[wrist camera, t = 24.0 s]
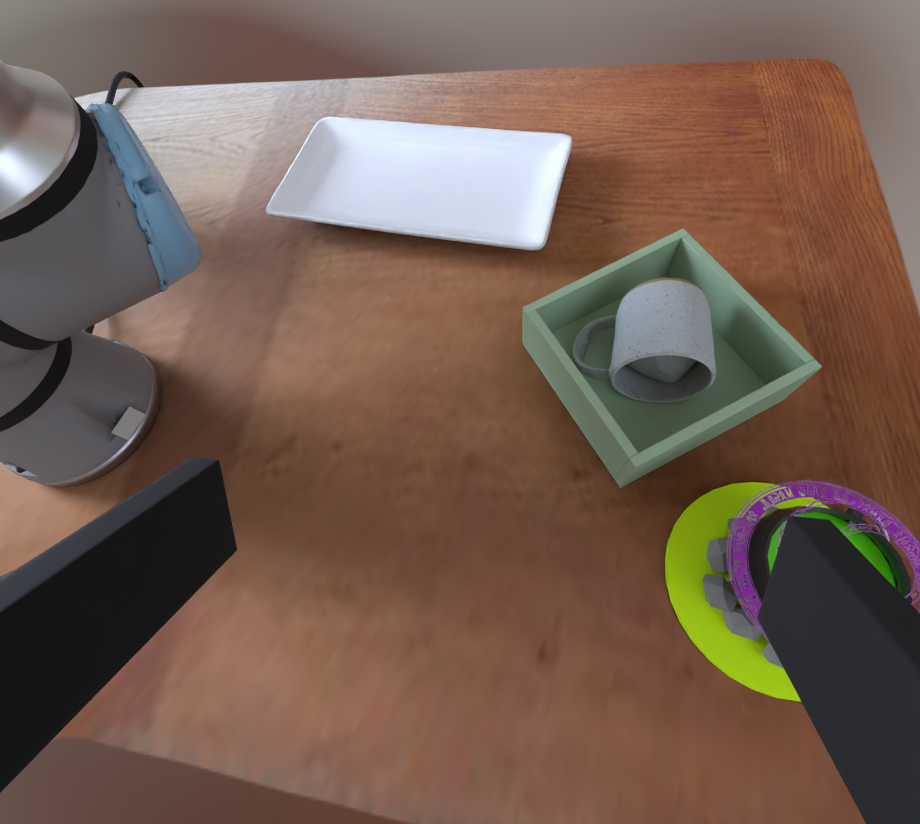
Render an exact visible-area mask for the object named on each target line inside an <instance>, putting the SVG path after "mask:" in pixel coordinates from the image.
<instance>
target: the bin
mask: <svg viewBox="0 0 920 824" xmlns="http://www.w3.org/2000/svg"><path fill="white" fill-rule="evenodd" d="M657 278H680V279H684V280H687V281H690V282H692V283H694V284H696V285H697V286H698V287H700V288H701V289H702V291H703V292H704V294H705V295H706V298H707V301H708V303H709V307H710V312H711V325H712V334H713V344H714V356H715V365H716V378H715V380H714V382H713V384H712V385H711V386H710V387H709V388H708V389H707V390H706V391H704V392H703V393H701V394H699V395H697V396H695V397H693V398H690V399H687V400H683V401H677V402H671V403H652V402H644V401H639V400H635V399H631V398H628V397H626V396H624V395H622V394H620V393H619V392H618V391H616V390H615V389H614V388H613V386H612V385H611V382H610V380H600V379H594V378H591V377H588V376H586V375H585V374H584V373H582V372H581V371H580V370H579V368H578V366H577V365H576V363H575V361H574V360H573V356H572V349H573V344H574V341H575V339H576V337H577V335H578V333H579V332H580V331H581V330H582V329H583V328H584V327H585V326H586V325H587V324H588V323H590V322H592V321H594V320H596V319H598V318H601V317H605V316H610V315H617V312H618V309H619V306H620V303H621V301H622V299H623V298H624V296H625V295H626V294H627V293H628V292H629V291H630V290H631V289H633V288H634V287H636V286H637V285H639V284H641V283H643V282H646V281H649V280H652V279H657ZM614 337H615V327H614V328H609V329H604V330H603V331H600V332H598V333H596V334H594V335H593V336H592V337H590V338H589V339H588V344H587V346H586V348H585V351H584V356H583V361H582V362H583V363H585V364H586V365H587V366H590V367H594V368H600V369H608V368H610V366H611V360H612V350H613V344H614ZM523 345H524V347H525V348H526V350H527V351H528V353H529V354H530V356H531V357H532V359H533V360H534V361H535V363H536V364H537V366H538V367H539V369H540V370H541V372H542V373H543V375H544V376H545V378H546V379H547V381H548V382H549V384H550V385H551V387H552V388H553V390H554V391H555V393H556V394H557V395H558V397H559V398H560V400H561V401H562V403H563V404H564V406H565V407H566V409H567V410H568V412H569V413H570V415H571V416H572V418H573V419H574V421H575V422H576V424H577V425H578V427H579V428H580V430H581V431H582V432H583V434H584V435H585V437H586V438H587V440H588V441H589V443H590V444H591V446H592V447H593V449H594V450H595V452H596V453H597V455H598V456H599V458H600V459H601V461H602V462H603V464H604V465H605V466H606V468H607V469H608V471H609V472H610V474H611V475H612V477H613V478H614V480H615V481H616V483H617V484H618V486H619V487H620V488H622V487H624V486H625V485H627V484H629V483H631V482H633V481H635V480H637V479H638V478H640V477H642V476H644V475H646V474H648V473H649V472H651V471H653V470H655V469H657V468H659V467H661V466H662V465H664V464H666V463H668V462H670V461H672V460H674V459H675V458H677V457H679V456H681V455H683V454H685V453H687V452H688V451H690V450H692V449H694V448H696V447H698V446H700V445H701V444H703V443H705V442H707V441H709V440H711V439H713V438H714V437H716V436H718V435H720V434H722V433H724V432H726V431H727V430H729V429H731V428H733V427H735V426H737V425H738V424H740V423H742V422H744V421H746V420H748V419H750V418H751V417H753V416H755V415H757V414H759V413H761V412H763V411H764V410H766V409H768V408H770V407H772V406H774V405H776V404H777V403H779V402H781V401H783V400H784V399H785V398H787V397H788V396H789V395H790V394H791V393H792V392H794V391H795V390H796V389H797V388H798V387H799V386H801V385H802V384H803V383H804V382H805V381H806V380H808V379H809V378H810V377H811V376H812V375H814V374H815V373H816V372H817V371H818V370H819V369H821V368H822V366H821V365H820V364H819V363H818V362H817V361H816V360H815V359H814V358H813V357H812V356H811V355H810V354H809V353H808V352H807V351H806V350H805V349H804V348H803V347H802V346H801V345H800V344H799V343H798V342H797V341H796V340H795V339H794V338H793V337H792V336H791V335H790V334H789V333H788V332H787V331H786V330H785V329H784V328H783V327H782V326H781V325H780V324H779V323H778V322H777V321H776V320H775V319H774V318H773V317H772V316H771V315H770V314H769V313H768V312H767V311H766V310H765V309H764V308H763V307H762V306H761V305H760V304H759V303H758V302H757V301H756V300H755V299H754V298H753V297H752V296H751V295H750V294H749V293H748V292H747V291H746V290H745V289H744V288H743V287H742V286H741V285H740V284H739V283H738V282H737V281H736V280H735V279H734V278H733V277H732V276H731V275H730V274H729V273H728V272H727V271H726V270H725V269H724V268H723V267H722V266H721V265H720V264H719V263H718V262H717V261H716V260H715V259H714V258H713V257H712V256H711V255H710V254H709V253H708V252H707V251H706V250H705V249H704V248H703V247H701V246H700V245H699V244H698V243H697V242H696V241H695V240H694V239H693V238H692V237H691V236H690V235H689V233H688V232H687V231H686V230H685V229H684V228H683V229H681V230H679V231H677V232H675V233H673V234H671V235H669V236H667V237H665V238H662V239H660V240H658V241H656V242H654V243H652V244H650V245H648V246H646V247H644V248H642V249H640V250H638V251H636V252H634V253H632V254H630V255H628V256H626V257H624V258H622V259H620V260H618V261H616V262H614V263H612V264H610V265H607V266H605V267H603V268H601V269H599V270H597V271H595V272H593V273H591V274H589V275H587V276H585V277H583V278H581V279H579V280H577V281H575V282H573V283H571V284H569V285H567V286H565V287H563V288H561V289H559V290H557V291H555V292H552V293H550V294H548V295H546V296H544V297H542V298H540V299H538V300H536V301H534V302H532V303H530V304H528V305H526V306H524V307H523ZM813 359H814V360H813Z"/></svg>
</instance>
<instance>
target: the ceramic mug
mask: <svg viewBox="0 0 920 824" xmlns="http://www.w3.org/2000/svg"><path fill="white" fill-rule="evenodd" d="M614 327H615V337H614V344H613V350H612V360H611V366H610V368H608V369H600V368H594V367H590V366H587V365H586V364H585V363H583V362H582V361H583V356H584V351H585V348H586V346H587V344H588V339H589V338H590V337H592V336H593V335H594V334H596V333H598V332H600V331H603V330H604V329H609V328H614ZM572 356H573V360H574V361H575V363H576V365H577V366H578V368H579V370H580V371H581V372H582V373H584V374H585V375H586V376H588V377H591V378H594V379H600V380H610V382H611V385H612V386H613V388H614V389H615V390H616V391H618V392H619V393H620V394H622V395H624V396H626V397H628V398H631V399H635V400H639V401H644V402H652V403H671V402H677V401H683V400H687V399H690V398H693V397H695V396H697V395H699V394H701V393H703V392H704V391H706V390H707V389H708V388H709V387H710V386H711V385H712V384H713V382H714V380H715V378H716V365H715V356H714V344H713V334H712V325H711V312H710V307H709V303H708V301H707V298H706V295H705V294H704V292H703V291H702V289H701V288H700V287H698V286H697V285H696V284H694V283H692V282H690V281H687V280H684V279H680V278H657V279H652V280H649V281H646V282H643V283H641V284H639V285H637V286H636V287H634V288H633V289H631V290H630V291H629V292H628V293H627V294H626V295H625V296H624V298H623V299H622V301H621V303H620V306H619V309H618V312H617V315H610V316H605V317H601V318H598V319H596V320H594V321H592V322H590V323H588V324H587V325H586V326H585V327H584V328H583V329H582V330H581V331H580V332H579V333H578V335H577V337H576V339H575V341H574V344H573V349H572Z"/></svg>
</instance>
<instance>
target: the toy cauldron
mask: <svg viewBox="0 0 920 824" xmlns="http://www.w3.org/2000/svg"><path fill="white" fill-rule="evenodd" d="M806 479H808V478H806ZM825 481H826V480H825ZM791 482H797V483H794V484H792V483H791V484H789V483H790V482H785V483H788V485H786V484H785V483H781V484H785V485H782V486H779V485H780V484H777V485H775V484H770V483H758V482H746V483H736V484H730V485H727V486H723V487H720V488H717V489H713V490H712V491H710V492H708V493H706V494H704V495H702V496H701V497H699V498H697V499H696V500H695V501H694V502H693V503H692V504H691V505H689V506H688V507H687V508H686V509H685V510H684V512H683V513H682V514H681V516H680V517H679V519H678V520H677V521H676V523H675V525H674V527H673V530H672V532H671V534H670V537H669V539H668V543H667V549H666V555H665V577H666V584H667V588H668V592H669V596H670V601H671V603H672V605H673V608H674V610H675V612H676V615H677V617H678V619H679V622H680V623H681V625H682V626H683V628H684V630H685V631H686V633H687V634H688V636H689V637H690V639H691V640H692V642H693V643H694V644H695V645H696V647H697V648H698V649H699V650H700V651H701V652H702V653H703V654H704V655H705V656H706V658H707V659H708V660H709V661H710V662H711V663H713V664H714V665H715V666H716V667H718V668H719V669H720V670H721V671H723V672H724V673H725V674H726V675H728V676H729V677H730V678H732V679H734V680H736V681H738V682H739V683H741V684H743V685H745V686H746V687H748V688H750V689H752V690H755V691H757V692H760V693H763V694H766V695H769V696H772V697H774V698H780V699H786V700H793V701H799V702H801V700H800V698H799V696H798V694H797V692H796V690H795V689H794V687H793V685H792V683H791V681H790V679H789V677H788V675H787V674H786V672H785V670H784V668H783V666H782V664H781V662H780V660H779V658H778V657H777V655H776V653H775V651H774V649H773V647H772V645H771V643H770V642H769V640H768V638H767V636H766V634H765V632H764V630H763V628H762V626H761V625H760V623H759V621H758V619H757V616H758V613H759V610H760V607H761V603H762V600H763V597H764V594H765V590H766V587H767V584H768V581H769V577H770V574H771V571H772V568H773V564H774V561H775V558H776V555H777V552H778V548H779V545H780V542H781V539H782V535H783V532H784V529H785V526H786V522H787V519H788V516H797V517H808V518H818V519H828V520H830V521H831V522H832V523H833V524H834V525H835V526H836V527H837V528H838V529H839V530H840V531H841V532H842V533H843V534H844V535H845V536H846V537H847V538H848V539H849V540H850V542H851V543H852V544H853V545H854V546H855V547H856V548H857V549H858V550H859V551H860V552H861V553H862V554H863V555H864V556H865V557H866V558H867V559H868V560H869V561H870V562H871V563H872V564H873V565H874V567H875V568H876V569H877V570H878V571H879V572H880V573H881V574H882V575H883V576H884V577H885V578H886V579H887V580H888V581H889V582H890V583H891V584H892V585H893V586H894V587H895V588H896V589H897V590H898V592H899V593H900V594H901V595H902V596H903V597H904V598H905V599H906V600H907V601H908V602H909V603H910V604H911V605H913V604H914V603H915V602H916V601H917V600H918V603H919V597H920V595H919V596H918V598H917V599H916V601H915V602H913V603H912V598H913V597H912V596H914V595H912V594H911V592H912V590H913V588H914V586H915V581H916V577H917V581H918V582H917V583H918V585H919V586H918V587H919V588H916V589H917V590H918V589H919V590H918V591H920V579H919V578H920V575H919V574H920V565H918V564H920V561H919V559H920V553H919V552H920V551H918V548H919V549H920V542H919V541H918V540H917V539H916V538H915V536H914V535H913V534H912V533H911V532H910V531H909V529H908V528H907V527H906V526H905V525H904V524H903V523H902V522H901V521H900V520H899V519H897V518H896V517H895V516H894V515H893V514H891V513H890V512H889V511H888V510H886V509H885V508H884V507H882V506H881V505H879V504H878V503H876V502H875V503H876V504H878V505H879V506H881V507H882V508H884V509H885V510H886V511H888V512H889V513H890V514H891V515H893V516H894V517H895V518H896V519H897V520H898V521H899V522H901V523H902V524H903V525H904V526H905V527H906V528H907V529H906V528H905V527H904V526H903V525H902V524H901V523H899V522H898V521H897V520H896V519H894V518H893V517H891V515H889V514H888V513H886V512H885V510H882V508H880V507H879V506H877V505H876V504H873V502H874V501H873V500H871V499H870V500H871V501H873V502H870V500H867V499H866V498H867V497H866V496H864V495H862V494H860V493H858V494H860V495H862V497H861V496H859V495H857V494H856V493H857V492H856V493H853V492H855V491H853V490H851V491H853V492H849V490H850V489H848V488H845V487H843V488H845V490H844V489H842V488H839V487H842V486H838V485H835V484H831V486H830V485H829V484H830V483H826V484H828V485H826V484H822V483H825V482H820V483H821V484H819V483H817V482H818V481H809V482H810V483H808V482H806V483H804V482H803V483H801V482H802V481H791ZM798 482H800V483H798ZM811 482H813V483H811ZM814 482H816V483H814ZM798 484H814V485H822V486H828V487H833V488H836V489H840V490H843V491H846V492H849V493H851V494H854V495H856V496H858V497H860V498H862V499H864V500H866V501H868V502H870V503H871V504H873V505H875V506H876V507H878V508H879V509H881V510H882V512H884V513H885V514H887V515H889V516H890V517H891V518H892V519H893V520H892V519H890V518H889V517H887V516H886V515H885V514H884V513H882V512H881V510H879V509H877V508H875V507H873V506H872V505H869V504H868V503H866V502H865V501H863V500H862V501H863V503H862V501H861V500H859V498H857V497H854V496H852V495H850V494H847V493H844V492H841V491H838V490H836V491H837V492H838V494H837V497H836V495H835V497H836V498H837V499H836V498H835V499H834V489H830V488H825V487H819V486H794V487H788V488H787V487H785V486H789V485H798ZM832 485H835V486H832ZM836 486H838V487H836ZM844 486H845V485H844ZM800 487H801V489H802V492H801V489H800ZM807 487H810V491H812V494H811V495H810V492H809V488H808V493H809V495H808V494H807V492H806V491H807ZM813 487H817V493H818V495H819V496H818V495H817V493H816V488H814V491H813ZM847 487H848V486H847ZM803 488H804V490H805V494H804V490H803ZM822 488H824V489H825V491H826V492H825V497H824V492H823V497H822V492H821V491H822ZM798 489H799V491H798ZM824 489H823V491H824ZM846 489H848V491H847V490H846ZM836 491H835V492H836ZM814 492H815V494H814ZM837 492H836V493H837ZM836 493H835V494H836ZM813 494H814V495H813ZM844 494H846V495H847V497H846V495H845V497H846V499H844V500H843V499H842V498H841V497H844ZM838 495H839V497H840V498H839V499H840V500H839V499H838ZM863 496H864V497H866V498H863ZM845 497H844V498H845ZM814 498H823V499H828V500H833V501H834V502H828V501H819V500H816V499H814ZM847 499H848V500H847ZM868 499H869V498H868ZM820 500H822V499H820ZM845 500H847V502H845ZM843 501H844V502H843ZM821 502H824V503H825V504H832V503H834V504H836V503H839V502H840V503H842V504H845V505H848V506H850V507H853V508H854V509H848V510H847V512H844V511H841V510H835V509H830V508H829V507H827V506H826V505H824V504H822V503H821ZM840 503H839V504H840ZM862 504H863V505H862ZM865 505H867V506H865ZM855 506H856V507H855ZM859 506H860V507H859ZM873 508H874V510H873ZM877 511H878V512H877ZM863 513H864V514H866V515H867V516H869V517H870V518H872V519H873V520H874V521H875V522H876V523H877V526H876V525H872V526H876V527H878V528H877V529H878V531H879V530H880V531H879V532H878V531H877V530H876V529H874V528H873V527H872V526H871V524H868V523H867V522H865V521H864V520H862V518H863V516H864V514H863ZM880 515H881V517H879V516H880ZM882 517H884V518H883V519H882ZM881 519H882V520H881ZM884 520H885V521H886V522H887V521H888V520H890V521H891V522H892V523H890V521H888V522H887V523H890V524H889V525H887V523H886V524H884V523H885V522H884V523H883V521H884ZM894 522H896V523H898V524H899V525H900V526H901V525H902V526H901V527H902V528H903V527H904V528H903V529H904V530H905V531H906V532H904V531H903V530H902V529H901V528H900V527H899V526H898V525H896V524H895V523H894ZM886 525H887V526H886ZM885 526H886V527H885ZM897 531H898V532H899V531H902V532H903V533H902V532H900V533H902V534H901V535H902V536H901V535H899V533H898V532H897ZM880 532H881V533H880ZM887 532H888V533H887ZM908 532H909V533H910V534H909V533H908ZM896 533H898V534H897V535H899V536H897V535H896ZM890 534H891V536H892V537H893V538H894V539H895V541H897V542H898V544H897V543H896V542H895V541H894V542H895V543H896V544H897V545H899V546H900V547H901V548H902V549H903V551H904V552H905V554H906V555H907V557H908V559H909V561H910V563H911V565H912V567H913V569H914V574H916V575H915V581H914V586H913V588H912V590H911V580H910V578H909V575H908V573H907V570H906V568H905V565H904V563H903V561H902V558H901V556H900V555H899V554H898V553H897V551H896V550H895V549H894V547H893V546H892V545H891V544H890V541H889V539H890V538H889V537H888V536H889V535H890ZM893 534H894V535H895V536H897V538H896V537H895V536H894V535H893ZM911 534H912V536H913V537H914V538H915V539H916V540H917V542H918V543H919V544H918V543H917V542H916V540H914V539H913V537H912V536H910V535H911ZM904 537H906V538H904ZM902 538H904V539H902ZM909 538H910V539H911V540H910V539H909ZM900 539H901V540H902V541H903V540H906V541H905V542H904V541H903V542H902V541H900ZM891 540H892V539H891ZM892 541H893V540H892ZM907 541H910V542H908V543H906V542H907ZM901 542H902V544H901ZM914 542H915V543H914ZM904 543H906V544H904ZM913 543H914V544H913ZM903 544H904V545H903ZM915 544H916V545H917V547H918V548H916V547H915V548H914V547H913V546H916V545H915ZM909 545H912V546H910V547H909ZM918 545H919V546H918ZM906 547H909V548H910V549H909V550H908V551H907V549H908V548H906ZM913 548H914V550H912V549H913ZM910 552H913V554H914V555H915V557H917V556H918V554H919V557H917V558H915V557H914V556H910V555H913V554H912V553H910ZM917 552H918V553H917ZM911 559H915V560H911ZM917 559H918V561H916V560H917ZM913 561H914V562H915V563H913ZM918 562H919V563H918ZM916 563H918V564H916ZM911 569H912V568H911ZM912 571H913V570H912ZM917 573H918V574H917ZM917 583H916V584H917ZM916 586H917V585H916ZM916 586H915V587H916ZM914 591H915V590H914ZM915 593H916V592H915ZM915 593H914V594H915ZM915 595H917V593H916V594H915ZM915 597H916V596H915ZM915 597H914V598H915ZM918 605H919V604H918ZM919 610H920V609H919ZM919 613H920V611H919Z"/></svg>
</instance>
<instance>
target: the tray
mask: <svg viewBox="0 0 920 824" xmlns="http://www.w3.org/2000/svg"><path fill="white" fill-rule="evenodd" d="M572 142H573V141H572V137H571V136H569V135H566V134H558V133H544V132H527V131H513V130H500V129H487V128H473V127H459V126H446V125H432V124H420V123H408V122H395V121H383V120H370V119H357V118H345V117H324V118H322V119H320V120H319V121H318V122H317V123H316V124H315V126H314V128H313V129H312V131H311V133H310V134H309V136H308V138H307V139H306V141H305V143H304V145H303V146H302V148H301V150H300V151H299V153H298V155H297V156H296V158H295V160H294V161H293V163H292V165H291V166H290V168H289V170H288V171H287V173H286V175H285V177H284V178H283V180H282V182H281V183H280V185H279V187H278V188H277V190H276V191H275V193H274V195H273V196H272V198H271V200H270V202H269V203H268V205H267V207H266V213H267V214H268V215H271V216H276V217H282V218H289V219H296V220H303V221H310V222H317V223H325V224H333V225H340V226H347V227H354V228H361V229H368V230H375V231H382V232H389V233H396V234H404V235H411V236H419V237H427V238H435V239H443V240H451V241H460V242H468V243H475V244H483V245H490V246H498V247H505V248H514V249H523V250H540V249H542V248H543V247H544V245H545V243H546V241H547V238H548V234H549V230H550V226H551V222H552V218H553V214H554V210H555V205H556V201H557V198H558V194H559V190H560V186H561V183H562V179H563V175H564V172H565V168H566V165H567V162H568V158H569V155H570V151H571V147H572Z"/></svg>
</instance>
